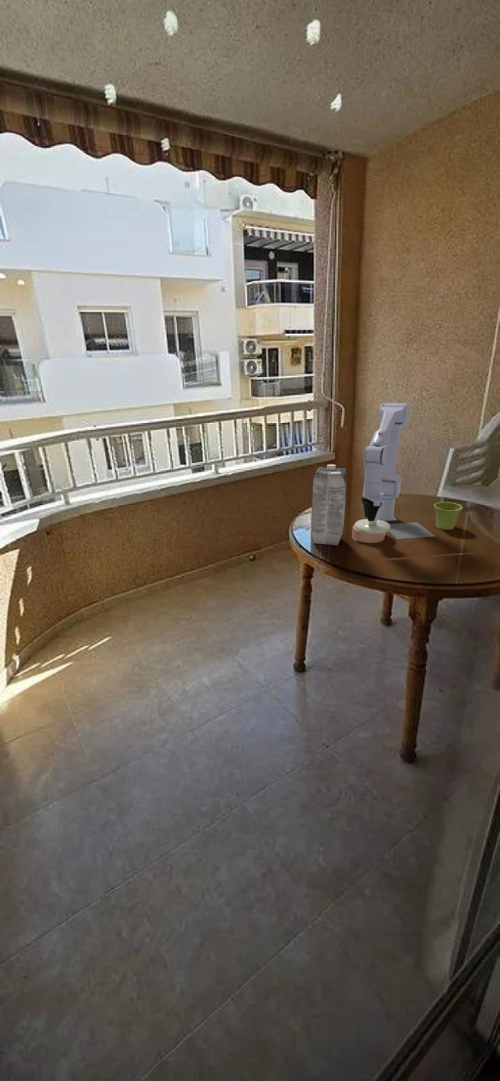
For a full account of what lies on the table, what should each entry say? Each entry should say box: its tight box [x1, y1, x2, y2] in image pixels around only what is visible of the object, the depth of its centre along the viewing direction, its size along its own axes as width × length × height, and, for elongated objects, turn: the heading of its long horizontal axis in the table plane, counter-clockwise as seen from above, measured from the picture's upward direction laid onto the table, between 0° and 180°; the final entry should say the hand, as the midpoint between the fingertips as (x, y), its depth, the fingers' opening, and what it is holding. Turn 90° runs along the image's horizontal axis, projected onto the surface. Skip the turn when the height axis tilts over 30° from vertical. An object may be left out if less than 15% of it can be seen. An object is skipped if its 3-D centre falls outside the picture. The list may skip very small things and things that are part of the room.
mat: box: [388, 522, 435, 540], centre depth 160 cm, size 14×14×1 cm
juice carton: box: [311, 464, 347, 546], centre depth 149 cm, size 9×10×27 cm
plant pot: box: [433, 501, 463, 531], centre depth 161 cm, size 9×9×9 cm
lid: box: [354, 514, 391, 534], centre depth 153 cm, size 12×12×5 cm
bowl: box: [351, 523, 386, 544], centre depth 155 cm, size 11×11×4 cm
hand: (369, 519), depth 153 cm, fingers closed on lid, 3 cm apart
